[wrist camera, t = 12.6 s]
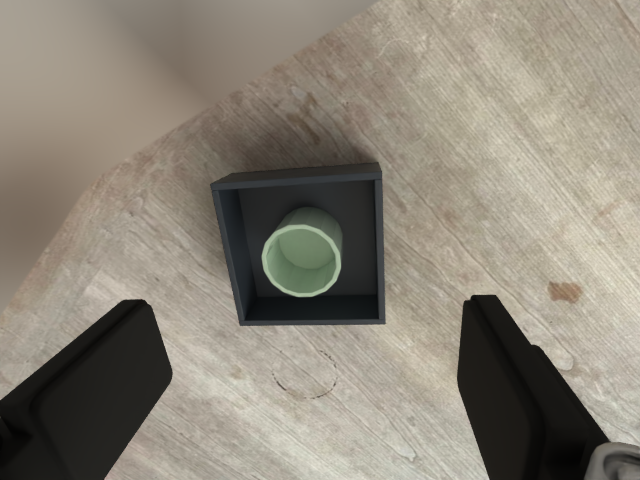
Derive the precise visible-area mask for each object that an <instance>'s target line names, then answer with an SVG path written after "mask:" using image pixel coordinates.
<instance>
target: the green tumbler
mask: <svg viewBox="0 0 640 480" xmlns="http://www.w3.org/2000/svg"><path fill="white" fill-rule="evenodd" d="M343 247H344V245H343V233H342V229H341V227H340V225H339V223H338V222H337V221H336V219H335V218H334V217H333V216H332V215H330V214H329V213H328V212H326V211H324V210H322V209H319V208H315V207H302V208H298V209H295V210H293V211H291V212H289V213H288V214H287V215H286V216H285V217H284V218H283V219H282V221H281V222H280V223H279V224H278V225H277V227H276V228H275V230H274V231H273V232H272V234H271V235H270V237H269V238H268V239H267V241H266V242H265V245H264V249H263V252H262V263H263V269H264V272H265V273H266V275H267V277H268V278H269V280H270V281H271V283H272V284H273V285H275V286H276V287H277V288H279V289H280V290H281V291H282V292H284V293H287V294H290V295H293V296H296V297H312V296H315V295H318V294H320V293H323V292H325V291H327V290H328V289H329V288H330V287H331V286H332V285H333V284H334V283H335V282H336V280H337V278H338V275H339V272H340V270H341V264H342V256H343Z"/></svg>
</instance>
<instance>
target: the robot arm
mask: <svg viewBox="0 0 640 480" xmlns="http://www.w3.org/2000/svg"><path fill="white" fill-rule="evenodd" d="M172 375H173V372H172V368H171V365H170V362H169V359H168V356H167V352H166V349H165V346H164V343H163V340H162V337H161V334H160V331H159V328H158V325H157V322H156V319H155V315H154V312H153V309H152V307H151V306H150V305H149V304H147V302H146V301H145V300H142V299H135V300H123V301H121V302H120V303H118V304H117V305H116V306H115V307H114V308H112V309H111V310H110V311H109V312H108V313H106V314H105V315H104V316H103V317H101V318H100V319H99V320H98V321H97V322H95V323H94V324H93V325H92V326H90V327H89V328H88V329H87V330H86V331H84V332H83V333H82V334H81V335H79V336H78V337H77V338H76V339H75V340H73V341H72V342H71V343H70V344H69V345H67V346H66V347H65V348H64V349H62V350H61V351H60V352H59V353H58V354H56V355H55V356H54V357H53V358H51V359H50V360H49V361H48V362H47V363H45V364H44V365H43V366H42V367H40V368H39V369H38V370H37V371H36V372H34V373H33V374H32V375H31V376H29V377H28V378H27V379H26V380H25V381H23V382H22V383H21V384H20V385H19V386H17V387H16V388H15V389H14V390H12V391H11V392H10V393H9V394H8V395H6V396H5V397H4V398H3V399H1V400H0V417H1V418H0V480H104V478H105V477H106V476H107V474H108V473H109V471H110V470H111V468H112V467H113V465H114V464H115V462H116V461H117V460H118V458H119V457H120V455H121V454H122V452H123V451H124V449H125V448H126V446H127V445H128V443H129V442H130V441H131V439H132V438H133V436H134V435H135V433H136V432H137V430H138V429H139V427H140V426H141V425H142V423H143V422H144V420H145V419H146V417H147V416H148V414H149V413H150V411H151V410H152V409H153V407H154V406H155V404H156V403H157V401H158V400H159V398H160V397H161V395H162V394H163V392H164V391H165V390H166V388H167V387H168V385H169V384H170V382H171V379H172ZM457 382H458V388H459V392H460V394H461V397H462V400H463V403H464V406H465V409H466V412H467V415H468V418H469V421H470V424H471V427H472V429H473V432H474V435H475V438H476V441H477V444H478V447H479V450H480V453H481V456H482V459H483V462H484V465H485V467H486V470H487V473H488V476H489V479H490V480H640V447H638V446H636V445H631V444H626V443H621V442H610V441H609V439H608V438H607V437H606V435H605V434H604V433H603V431H602V430H601V429H600V427H599V426H598V424H597V423H596V422H595V420H594V419H593V418H592V416H591V415H590V414H589V412H588V411H587V410H586V408H585V407H584V405H583V404H582V403H581V401H580V400H579V399H578V397H577V396H576V395H575V393H574V392H573V391H572V389H571V388H570V387H569V385H568V384H567V382H566V381H565V380H564V378H563V377H562V376H561V374H560V373H559V372H558V370H557V369H556V368H555V366H554V365H553V363H552V362H551V361H550V359H549V358H548V357H547V355H546V354H545V353H544V351H543V350H542V349H541V348H540V347H539V346H537V345H531V344H530V342H529V341H528V340H527V338H526V337H525V335H524V334H523V333H522V331H521V330H520V328H519V327H518V326H517V324H516V323H515V321H514V320H513V318H512V317H511V316H510V314H509V313H508V311H507V310H506V309H505V307H504V306H503V304H502V303H501V301H500V300H499V299H498V297H497V296H496V295H472V296H471V299H470V300H465V301H464V304H463V315H462V326H461V338H460V349H459V361H458V372H457Z"/></svg>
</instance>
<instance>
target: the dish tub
mask: <svg viewBox="0 0 640 480" xmlns="http://www.w3.org/2000/svg"><path fill="white" fill-rule="evenodd" d="M210 186H211V190H212V195H213V200H214V205H215V209H216V214H217V219H218V224H219V229H220V233H221V238H222V243H223V248H224V252H225V257H226V262H227V267H228V271H229V276H230V281H231V286H232V291H233V295H234V300H235V305H236V310H237V314H238V319H239V324H240V326H267V325H373V324H386V321H385V278H384V235H383V192H382V171H381V168H380V165H379V163H378V162H374V163H361V164H347V165H334V166H321V167H308V168H294V169H281V170H268V171H254V172H241V173H231V174H229V175H227V176H225V177H223V178H221V179H219V180H217V181H215V182H213V183H211V184H210ZM302 207H315V208H319V209H322V210H324V211H326V212H328V213H329V214H330V215H332V216H333V217H334V218H335V219H336V221H337V222H338V223H339V225H340V227H341V229H342V233H343V245H344V247H343V256H342V264H341V270H340V272H339V275H338V278H337V280H336V282H335V283H334V284H333V285H332V286H331V287H330V288H329V289H328V290H327V291H325V292H323V293H320V294H318V295H315V296H312V297H296V296H293V295H290V294H287V293H284V292H282V291H281V290H280V289H279V288H277V287H276V286H275V285H273V284H272V283H271V281H270V280H269V278H268V277H267V275H266V273H265V272H264V269H263V263H262V252H263V249H264V245H265V242H266V241H267V239H268V238H269V237H270V235H271V234H272V232H273V231H274V230H275V228H276V227H277V225H278V224H279V223H280V222H281V221H282V219H283V218H284V217H285V216H286V215H287V214H288V213H289V212H291V211H293V210H295V209H298V208H302Z"/></svg>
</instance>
